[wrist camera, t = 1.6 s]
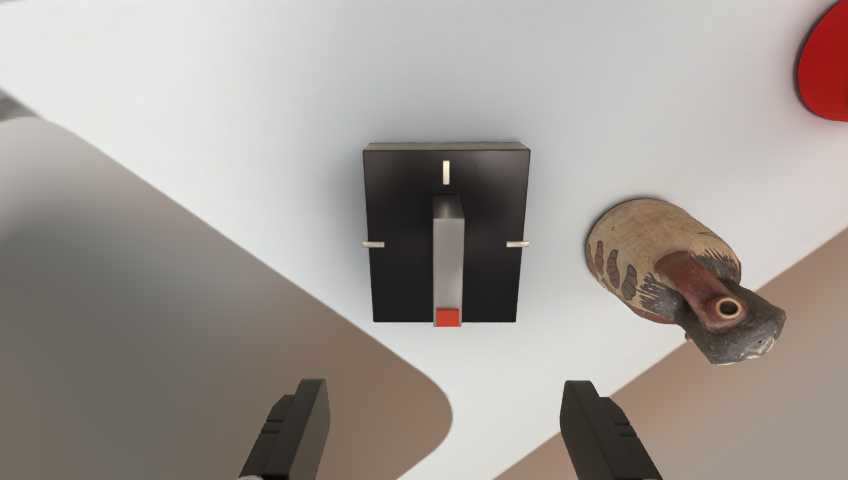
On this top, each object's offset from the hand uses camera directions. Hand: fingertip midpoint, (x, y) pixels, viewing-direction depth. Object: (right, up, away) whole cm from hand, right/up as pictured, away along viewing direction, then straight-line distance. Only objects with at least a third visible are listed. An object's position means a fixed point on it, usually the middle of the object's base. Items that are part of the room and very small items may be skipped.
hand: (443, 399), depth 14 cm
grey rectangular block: (+1, +5, +13) cm, 14 cm away
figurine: (+14, +5, +16) cm, 22 cm away
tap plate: (+1, +6, +15) cm, 17 cm away
